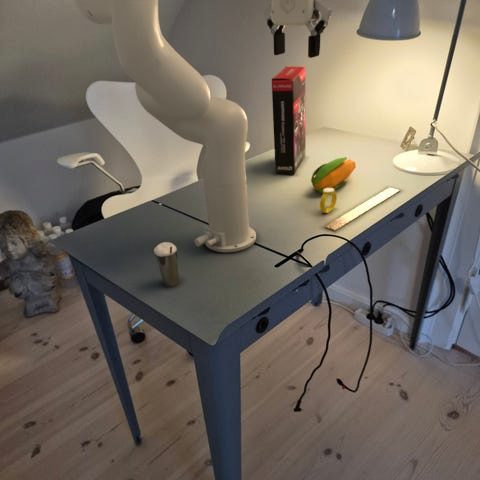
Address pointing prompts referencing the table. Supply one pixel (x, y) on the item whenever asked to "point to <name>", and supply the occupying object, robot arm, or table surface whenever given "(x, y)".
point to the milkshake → (167, 263)
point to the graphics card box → (289, 119)
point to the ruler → (361, 209)
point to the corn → (332, 174)
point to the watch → (323, 199)
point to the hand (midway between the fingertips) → (296, 55)
